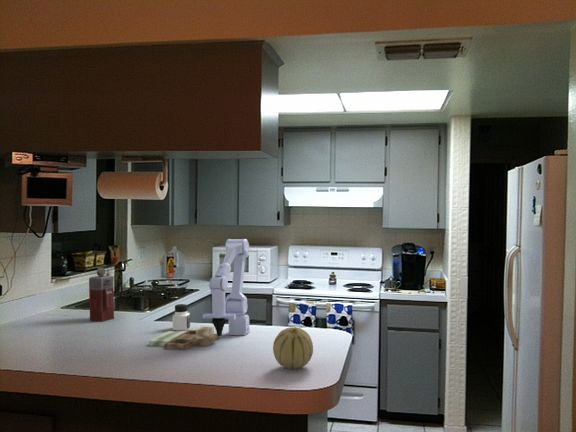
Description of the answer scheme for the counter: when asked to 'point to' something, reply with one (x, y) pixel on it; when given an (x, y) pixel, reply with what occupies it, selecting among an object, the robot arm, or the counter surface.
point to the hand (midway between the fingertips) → (219, 335)
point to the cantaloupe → (293, 348)
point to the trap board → (181, 340)
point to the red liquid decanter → (101, 297)
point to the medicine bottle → (181, 318)
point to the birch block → (204, 332)
